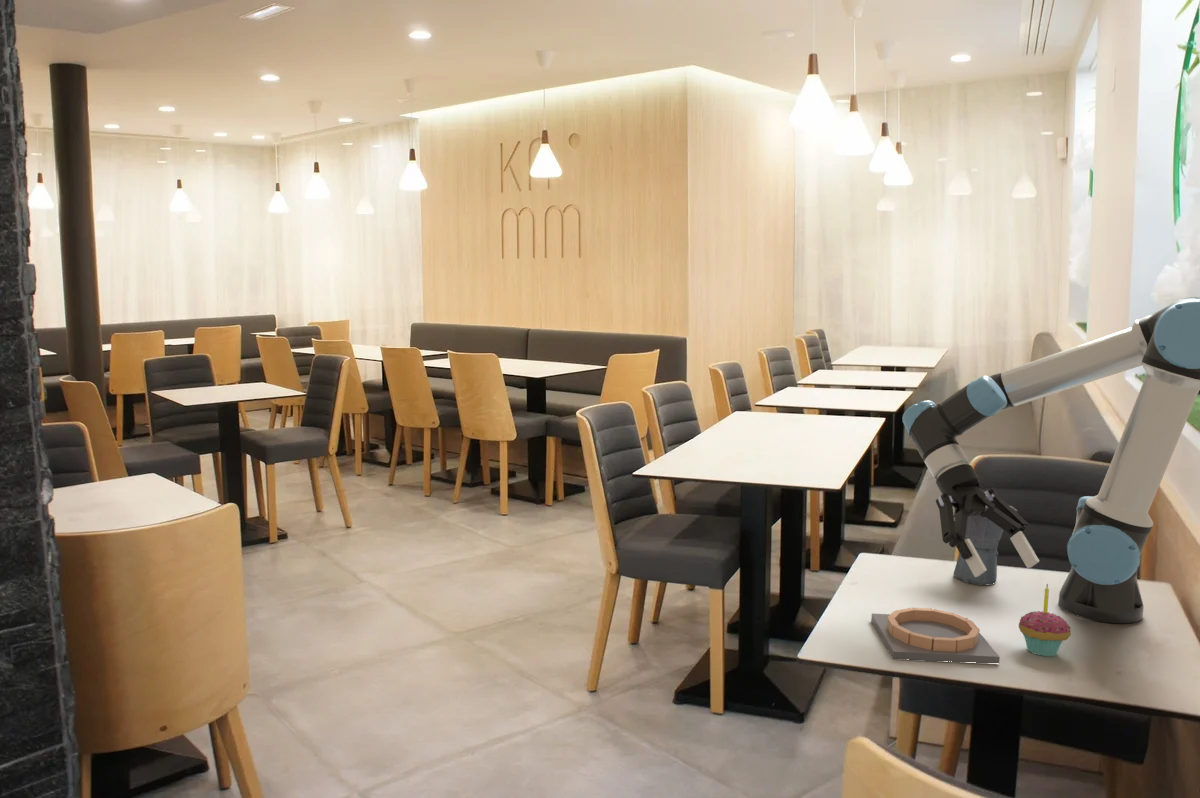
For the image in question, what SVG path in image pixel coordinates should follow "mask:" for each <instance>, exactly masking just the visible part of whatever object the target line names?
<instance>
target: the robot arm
mask: <svg viewBox="0 0 1200 798" xmlns="http://www.w3.org/2000/svg"><path fill="white" fill-rule="evenodd" d="M1141 366H1142V367H1143V370H1144V371H1145V374H1146V375H1145V377H1144V379H1143V382H1142V385H1141V388H1140V389H1139V392H1138V395H1137V397H1136V399H1135V402H1134V405H1133V407H1132V409H1131V411H1130V414H1129V417H1128V419H1127V422H1126V425H1125V427H1124V430H1123V431H1122V433H1121V437H1120V439H1119V441H1118V443H1117V447H1116V448H1115V451H1114V454H1113V456H1112V459H1111V461H1110V464H1109V467H1108V469H1107V472H1106V473H1105V477H1104V479H1103V481H1102V484H1101V485H1100V486H1101V487H1100V489H1099V492H1098V493H1097V495H1094V496H1093V495H1092V496H1090V495H1087V496H1082V497H1080V498H1079V499H1078V501H1077V506H1076V510H1075V511H1076V518H1075V519H1076V520H1075V526H1074V528H1073V531H1072V534H1071V536H1070V538H1069V540H1068V542H1067V545H1066V552H1067V556H1068V561H1069V563H1070V565H1071V569H1070V570H1069V572H1068V575H1067V576H1066V578H1065V580H1064V582H1063V585H1062V586H1061V589H1060V591H1059V595H1058V606H1060V607H1061V609H1063V610H1064V611H1066V612H1068V613H1070V614H1073V615H1075V616H1078V617H1080V618H1081V617H1082V618H1084V619H1087V620H1092V621H1097V622H1101V623H1110V624H1111V623H1112V624H1133V623H1137V622H1140V621H1141V620H1142V619H1143V617H1144V602H1143V599H1142V595H1141V590H1140V586H1139V583H1138V578H1137V577H1138V569H1139V567H1140V564H1141V555H1142V552H1143V550H1144V547H1145V545H1146V543H1147V541H1148V538H1149V536H1150V534H1151V531H1152V529H1153V526H1154V521H1153V520H1152V517H1151V516H1150V514H1149V511H1150V509H1151V506H1152V504H1153V502H1154V500H1155V496H1156V495H1157V491H1158V490H1159V487H1160V485H1161V482H1162V480H1163V477H1164V475H1165V472H1166V471H1167V468H1168V465H1169V463H1170V461H1171V458H1172V456H1173V454H1174V451H1175V450H1176V449H1175V448H1176V447H1177V444H1178V442H1179V440H1180V438H1181V435H1182V432H1183V430H1184V428H1185V425H1186V423H1187V422H1188V418H1189V416H1190V413H1191V412H1192V409H1193V406H1194V404H1195V402H1196V399H1197V396H1198V394H1199V392H1200V297H1196V296H1195V297H1184V298H1181V299H1179V300H1176V301H1174V302H1172V303H1170V304H1169V305H1167V306H1165V307H1164V308H1162V309H1160V310H1158V311H1155V312H1153V313H1151V314H1149V315H1146V316H1144V317H1140V318H1137V319H1135V321H1134V322H1133V324H1132V325H1131V327H1128V328H1125V329H1123V330H1119V331H1117V332H1114V333H1110V334H1107V335H1104V336H1102V337H1099V338H1097V339H1096V338H1095V339H1093V340H1090V341H1088V342H1084V343H1082V344H1079V345H1076V346H1074V347H1070V348H1067V349H1064V350H1062V351H1059V352H1056V353H1055V352H1054V353H1053V354H1050V355H1047V356H1044V357H1041V358H1038V359H1036V360H1032V361H1030V362H1027V363H1024V364H1022V365H1019V366H1016V367H1013V368H1009V369H1006V370H1004V371H1001V372H999V373H995V374H992V375H990V376H989V375H981V376H980V377H978V378H977V379H975V380H972V381H970V382H969V383H968V384H966V385H965V386H963V387H962V388H961V389H959V390H958V391H957V392H955V393H953V394H952V395H950V396H949V397H947V398H946V399H944V400H943V401H941V402H939V403H937V404H936V403H935V402H934V401H932V400H929V399H928V400H922V401H919V402H918V403H914V404H913V405H911V406H909V407H908V408H907V409H906V410H905V411H904V412H903V414H902V416H901V417H902V423H903V426H904V427H905V429H906V431H907V435H908V437H909V438H910V439H911V441H912V443H913V445H914V446H915V448H916V450H917V451H918V454H919V456H920V457H921V459H922V460H923V462H924V464H925V466H926V467H927V469H928V471H929V473H930V475H931V476H932V478H933V479H934V480H935V484H936V486H937V488H938V490H939V491H940V493H941V495H940V496H939V497H937V498H936V499H935V503H936V505H937V507H938V509H939V510H938V511H939V518H940V528H941V536H942V542H943V543H944V544H948V545H949V546H950V547H951V548H955V547H956V549H957V551H958V553H960V554H961V556H962V558H963V559H964V560H966V562H967V564H968V566H969V567H970V569H971V571H972V573H973V575H974V577H978V576H980V575H981V574H982V573H984V572H985V571H986V570H987V569H986V567H985V565H984V564H983V562H982V560H981V558H980V556H979V555H978V553H977V551H976V549H975V548H974V546H973V544H972V542H971V540H970V539H966V540H964V539H965V533H966V526H967V519H968V517H969V516H971V515H975V516H977V515H980V516H982V517H986V518H988V519H989V520H991V521H992V522H993V523H995V524H996V525H998V526H999V527H1001V528H1002V529H1003V531H1005V532H1006V533H1008V534H1009V535H1010V536H1011V537H1010V538H1009V539H1010V541H1011V543H1012V545H1013V546H1014V548H1015V549H1016V551H1017V553H1018V554H1019V556H1020V558H1021V560H1022V561H1023V563H1024V565H1025V567H1026V569H1031V568H1033V567H1034V566H1035V565H1037V564H1038V563H1039V562H1040V558H1038V556H1037V554H1036V552H1035V550H1034V549H1033V547H1032V544H1031V541H1030V540H1029V538H1028V537H1027V535H1026V533H1025V530H1027V528H1029V526H1030V524H1029V522H1028V521H1027V520H1025V518H1023V517H1022V516H1021V515H1020V514H1019V513H1018V512H1016V511H1015V510H1013V509H1012V508H1011V507H1010V506H1011V505H1010V506H1009V504H1008V502H1006V501H1005V500H1004V499H1003V498H1002V497H1001V496H1000V494H999V493H998V492H997V490H996V489H995V488H994V487H990V488H988V490H985V491H984V490H982V489H981V488H980V487H981V486H980V478H979V475H978V474H977V472H976V471H975V469H974V467H973V466H972V464H971V465H970V460H969V459H968V457H967V456H966V453H965V451H964V450H963V449H962V447H961V445H960V444H959V442H958V440H957V438H958V437H959V436H962V435H963V434H965V433H966V432H968V431H969V430H971V429H973V428H974V427H976V426H978V425H979V424H981V423H983V422H984V421H987V419H990V418H991V417H993V416H995V415H996V414H998V413H1000V412H1002V411H1005V410H1009V409H1011V408H1013V407H1016V406H1020V405H1023V404H1026V403H1029V402H1032V401H1035V400H1038V399H1042V398H1044V397H1045V398H1046V397H1047V396H1051V395H1054V394H1057V393H1060V392H1064V391H1066V390H1070V389H1072V388H1076V387H1079V386H1082V385H1085V384H1089V383H1091V382H1092V383H1093V382H1094V381H1098V380H1100V379H1104V378H1107V377H1110V376H1112V375H1113V376H1114V375H1116V374H1119V373H1122V372H1126V371H1128V370H1133V369H1134V368H1139V367H1141ZM986 506H987V508H986ZM953 508H954V509H953ZM985 508H986V509H985Z"/></svg>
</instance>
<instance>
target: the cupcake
mask: <svg viewBox="0 0 1200 798" xmlns="http://www.w3.org/2000/svg"><path fill="white" fill-rule="evenodd" d="M1048 587H1049V584H1048V583H1046V587H1045V588H1044V595H1043V596H1044V598H1043V611H1041V610H1038V611H1031V612H1028V613H1026V614H1024V615H1022V616H1021V617H1020V619H1019V622H1018V629H1019V631H1020V632H1021V633H1022V635H1023V638H1024V640H1025V644H1026V648H1027V650H1028V651H1029V652H1030V651H1031V652H1033V653H1032V654H1034V653H1035V654H1034V655H1036V654H1039V655H1038V656H1040V655H1043V656H1042V657H1053V656H1056V655H1057V653H1058V651H1059V648H1060V647H1061V645H1062V643H1063V642H1064V641H1066V640H1068V639H1069V638H1070V637H1071V634H1072V633H1071V632H1072V631H1071V630H1072V627H1071V626H1070V624H1068V622H1067V620H1065V619H1064V618H1063V617H1061V616H1060V615H1057V614H1055V613H1053V612H1052V613H1050V612H1048V608H1049V595H1050V588H1048ZM1031 652H1030V653H1031Z"/></svg>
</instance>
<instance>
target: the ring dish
mask: <svg viewBox="0 0 1200 798" xmlns="http://www.w3.org/2000/svg"><path fill="white" fill-rule="evenodd" d="M870 620H871V623H872V624H873V627H874V628H875V630H876V632H877V634H878V636H879V637H880V639H881V641H882V642H883V644H884V646H885V648H886V650H887V649H888V650H887V652H888V651H889V652H888V653H889V655H890V654H891V655H890V657H891V656H892V657H891V659H892V658H893V659H909V660H925V661H924V662H929V661H948V662H947V663H949V661H950V662H951V661H952V662H976V663H999V664H1000V658H1001V657H1000V655H999V654H998V653H997V651H996V650H995V649H994V648H993V647H992V646H991V644H990V643H989V642H988V640H986V639H985V638H984V636H983V635H982V634H981V632H980V628H979V627H978V626H977V625H976V624H975V622H974V621H972V620H971V619H969V618H968V617H964V616H962V615H960V614H958V613H957V614H956V613H954V612H949V611H946V610H945V611H944V610H941V609H936V608H925V607H908V608H903V609H896V610H894V611H892V613H891V612H890V614H889V613H887V614H886V613H871V618H870ZM893 659H892V660H893ZM909 660H908V661H909Z"/></svg>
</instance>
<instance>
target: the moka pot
mask: <svg viewBox="0 0 1200 798" xmlns="http://www.w3.org/2000/svg"><path fill="white" fill-rule="evenodd" d="M1008 505H1009V504H1008ZM1009 506H1010V507H1011V508H1012V509H1013V510H1015V511H1016V512H1017V513H1018V509H1016V508H1015V507H1014V506H1012V505H1009ZM986 508H987V506H986ZM986 508H985V509H986ZM1003 532H1004V530H1003V529H1002V528H1001V527H999V526H998V525H996V524H995V523H993V522H992V521H991V520H989V519H988V518H986V517H982V516H980V515H977V516H975V515H971V516H969V517H968V519H967V526H966V533H965V539H964V540H966V539H970V540H971V542H972V544H973V546H974V548H975V549H976V551H977V553H978V555H979V556H980V558H981V560H982V562H983V564H984V565H985V567H986V569H987V570H986V571H985V572H984V573H982V574H981V575H980V576H978V577H974V575H973V573H972V571H971V569H970V567H969V566H968V564H967V562H966V560H964V559H963V558H962V556H961V554H960V552H958V553H959V554H958V557H957V561H956V564H955V568H954V571H953V577H955V578H956V579H958V580H960V581H963V582H965V583H968V584H972V583H973V584H972V585H979V584H981V586H987V585H986V584H993V583H995V582H996V583H997V579H998V578H997V577H998V574H997V572H998V556H999V552H998V549H997V548H998V546H999V542H1000V541H1001V538H1002V535H1003ZM996 583H995V584H996ZM993 585H994V584H993Z"/></svg>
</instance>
